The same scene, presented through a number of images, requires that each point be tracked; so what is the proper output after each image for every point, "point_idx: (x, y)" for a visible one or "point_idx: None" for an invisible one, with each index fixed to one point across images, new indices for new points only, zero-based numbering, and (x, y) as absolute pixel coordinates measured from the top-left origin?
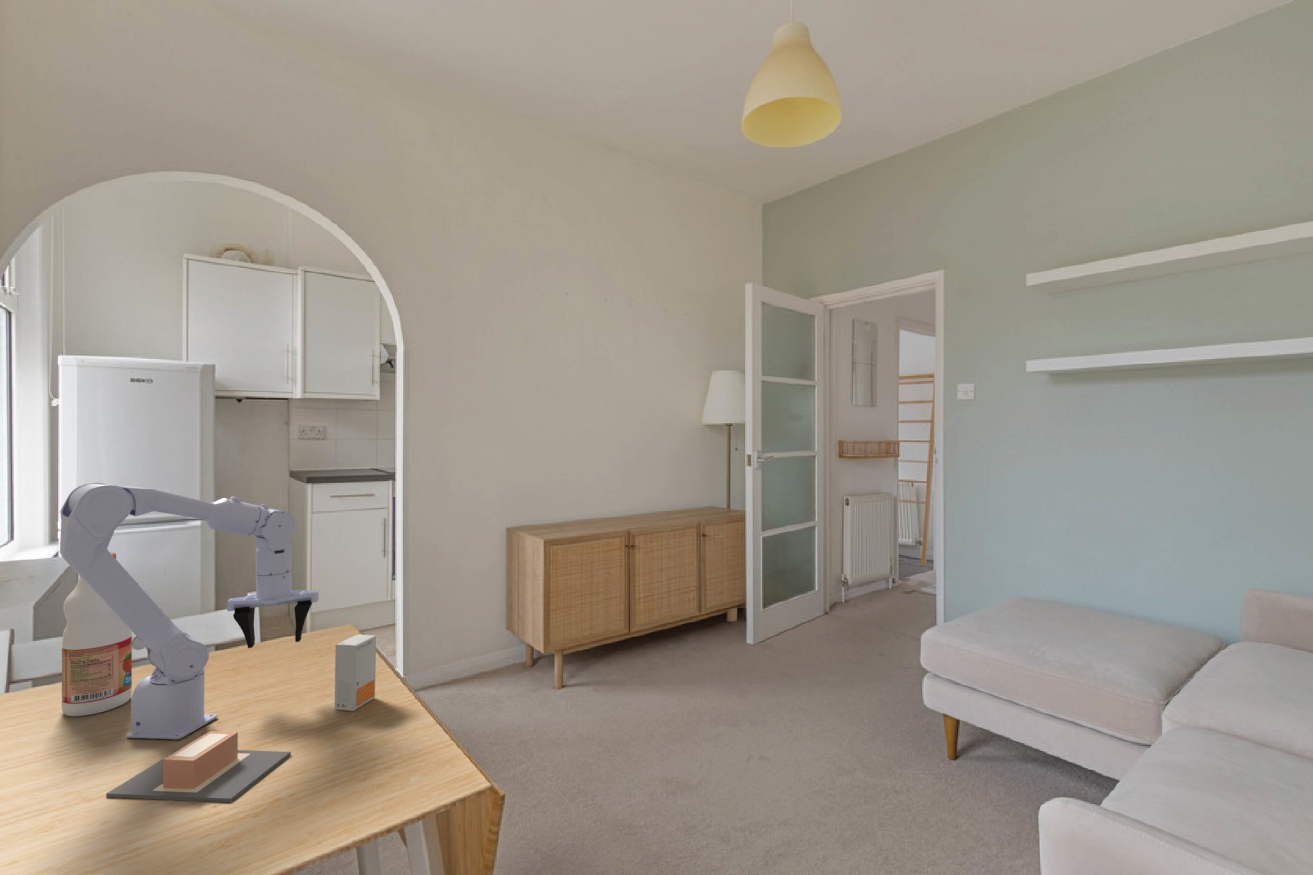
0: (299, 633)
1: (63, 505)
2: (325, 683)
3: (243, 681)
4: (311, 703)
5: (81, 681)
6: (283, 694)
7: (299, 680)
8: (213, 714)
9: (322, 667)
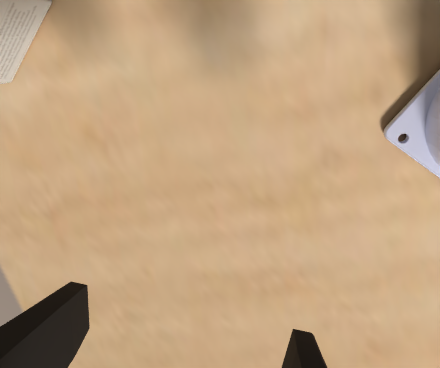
0: (32, 308)
1: None
2: (110, 225)
3: None
4: (128, 97)
5: None
6: (208, 210)
7: (176, 281)
8: (395, 144)
9: (131, 329)
